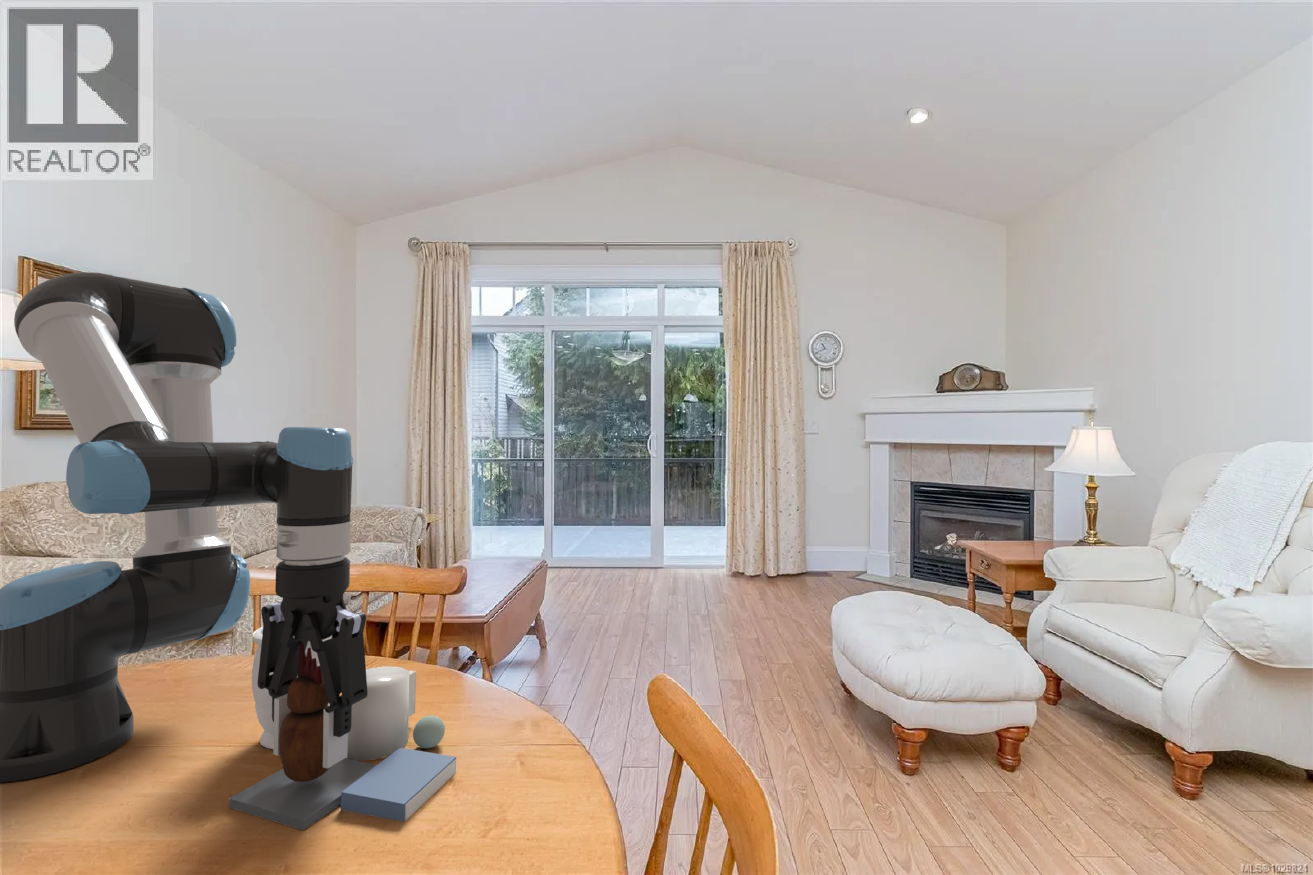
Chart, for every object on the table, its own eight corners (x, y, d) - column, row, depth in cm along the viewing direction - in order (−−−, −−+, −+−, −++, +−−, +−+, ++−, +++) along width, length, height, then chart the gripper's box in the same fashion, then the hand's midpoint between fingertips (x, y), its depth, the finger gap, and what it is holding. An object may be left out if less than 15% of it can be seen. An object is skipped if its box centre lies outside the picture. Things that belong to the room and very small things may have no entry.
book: (340, 813, 66) (341, 792, 66) (399, 766, 76) (400, 747, 76) (404, 826, 64) (405, 804, 64) (456, 776, 74) (456, 757, 74)
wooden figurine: (274, 769, 70) (277, 641, 70) (329, 753, 74) (331, 632, 74) (284, 796, 65) (286, 658, 65) (342, 777, 69) (345, 647, 69)
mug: (328, 753, 78) (329, 684, 78) (389, 718, 88) (390, 656, 88) (376, 765, 75) (377, 694, 75) (434, 727, 85) (435, 664, 85)
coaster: (228, 807, 66) (229, 798, 66) (315, 758, 77) (315, 750, 77) (302, 830, 62) (303, 820, 63) (383, 775, 73) (383, 767, 73)
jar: (298, 760, 76) (300, 642, 76) (230, 750, 78) (232, 635, 78) (355, 721, 86) (357, 618, 87) (294, 714, 89) (296, 613, 89)
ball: (405, 751, 79) (406, 720, 79) (426, 737, 82) (427, 708, 82) (430, 757, 77) (431, 726, 77) (450, 742, 81) (451, 712, 81)
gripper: (221, 557, 69) (217, 755, 69) (353, 572, 63) (349, 791, 63) (281, 547, 76) (277, 726, 76) (405, 559, 70) (402, 755, 70)
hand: (310, 755), depth 70 cm, fingers closed on wooden figurine, 7 cm apart
